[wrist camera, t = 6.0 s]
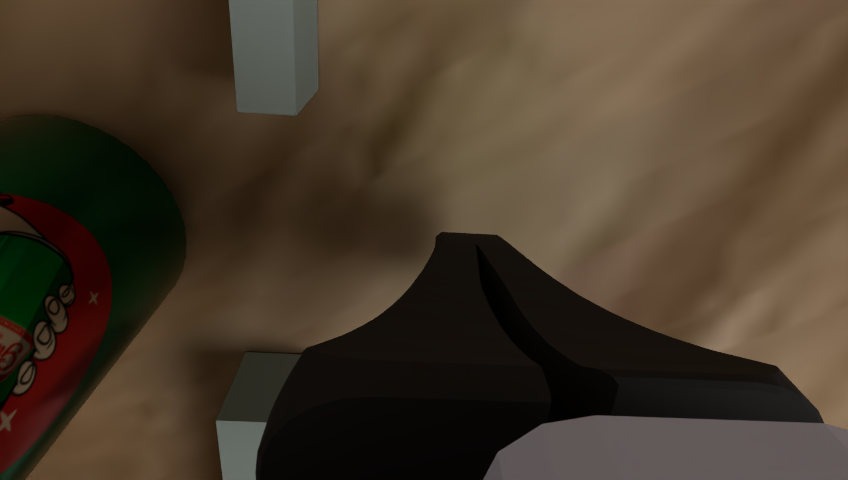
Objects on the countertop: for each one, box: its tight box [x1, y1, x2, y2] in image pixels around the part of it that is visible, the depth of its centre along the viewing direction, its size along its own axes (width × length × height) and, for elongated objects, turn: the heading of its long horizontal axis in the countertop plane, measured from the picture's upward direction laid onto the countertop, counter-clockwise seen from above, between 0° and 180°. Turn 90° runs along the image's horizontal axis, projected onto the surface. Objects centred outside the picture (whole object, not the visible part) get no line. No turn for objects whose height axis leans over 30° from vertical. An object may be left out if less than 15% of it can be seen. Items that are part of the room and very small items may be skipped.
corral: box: [216, 0, 318, 480], centre depth 12 cm, size 24×12×2 cm, turn 176°
